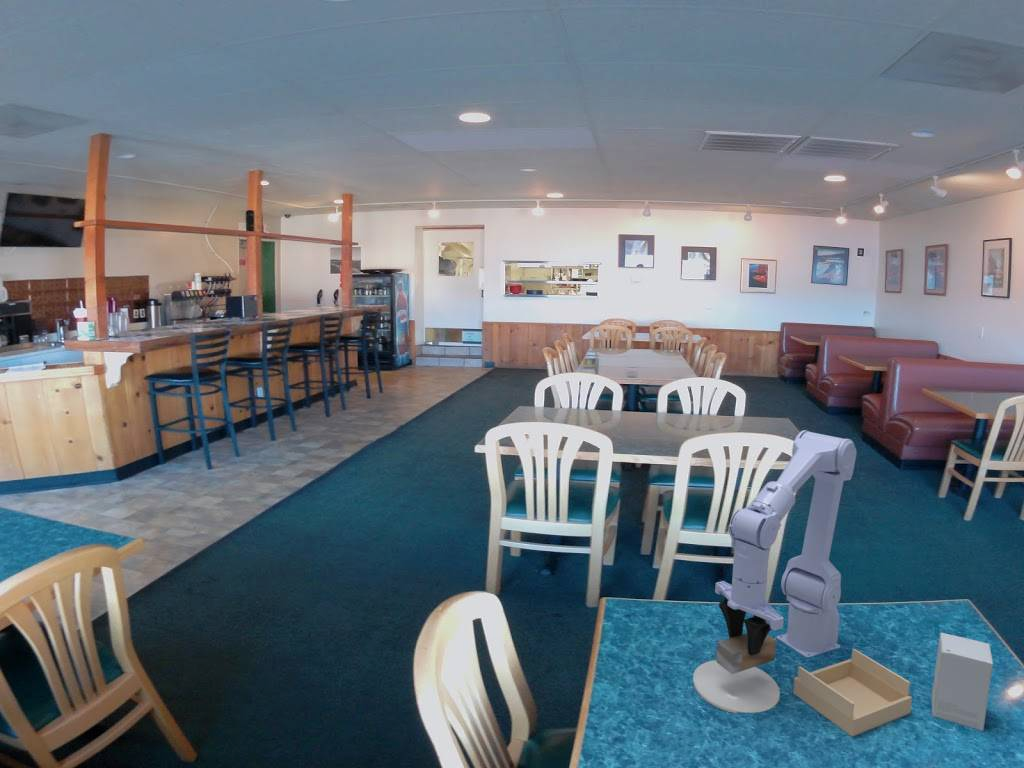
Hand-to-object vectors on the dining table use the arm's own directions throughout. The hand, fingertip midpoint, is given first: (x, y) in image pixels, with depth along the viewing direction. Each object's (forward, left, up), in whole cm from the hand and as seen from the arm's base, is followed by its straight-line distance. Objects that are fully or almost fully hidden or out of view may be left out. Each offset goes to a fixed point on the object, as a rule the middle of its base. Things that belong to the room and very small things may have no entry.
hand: (744, 646), depth 119 cm
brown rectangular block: (-1, 0, -3) cm, 3 cm away
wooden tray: (-14, +11, -8) cm, 20 cm away
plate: (+1, -1, -8) cm, 8 cm away
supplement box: (-29, +20, -9) cm, 37 cm away
